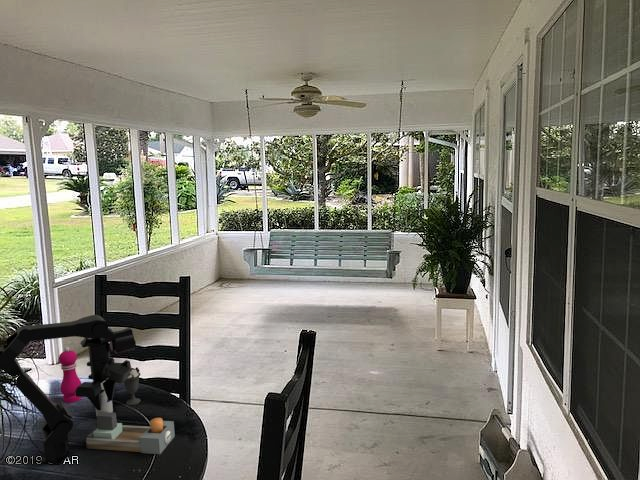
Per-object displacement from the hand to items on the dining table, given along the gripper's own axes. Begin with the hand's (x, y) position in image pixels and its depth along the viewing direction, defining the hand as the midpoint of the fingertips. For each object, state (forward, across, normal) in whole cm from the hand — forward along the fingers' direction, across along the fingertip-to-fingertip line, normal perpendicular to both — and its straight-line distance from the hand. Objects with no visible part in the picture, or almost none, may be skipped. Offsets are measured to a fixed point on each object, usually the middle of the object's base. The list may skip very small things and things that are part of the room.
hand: (105, 405), depth 161 cm
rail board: (+12, 0, -4) cm, 13 cm away
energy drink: (+12, +15, +10) cm, 22 cm away
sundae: (+12, +25, +6) cm, 28 cm away
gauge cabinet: (+12, 0, -16) cm, 20 cm away
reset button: (+8, 0, -17) cm, 18 cm away
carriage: (+10, 0, 0) cm, 10 cm away
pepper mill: (+12, +25, +30) cm, 41 cm away
